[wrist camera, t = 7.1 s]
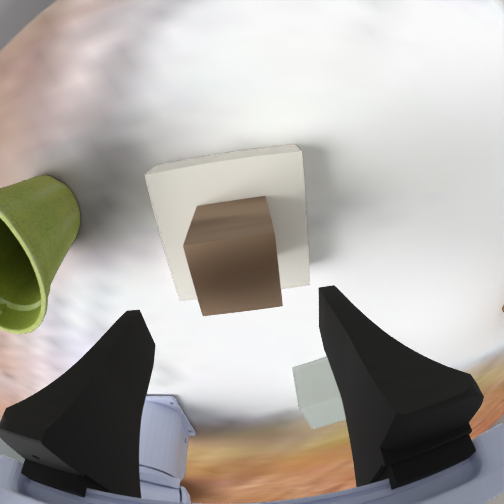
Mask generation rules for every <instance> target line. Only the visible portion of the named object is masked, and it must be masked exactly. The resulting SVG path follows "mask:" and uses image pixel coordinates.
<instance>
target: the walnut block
mask: <svg viewBox="0 0 504 504" xmlns="http://www.w3.org/2000/svg"><path fill="white" fill-rule="evenodd" d="M183 248H184V252H185V256H186V259H187V263H188V267H189V270H190V274H191V277H192V281H193V284H194V288H195V291H196V295H197V298H198V302H199V305H200V308H201V312H202V315H203V316H208V315H217V314H226V313H234V312H242V311H250V310H258V309H265V308H273V307H280V306H283V305H282V295H281V285H280V276H279V266H278V257H277V248H276V239H275V232H274V228H273V224H272V220H271V216H270V212H269V208H268V204H267V200H266V196H260V197H253V198H246V199H239V200H232V201H226V202H219V203H213V204H206V205H200V206H197V207H196V210H195V212H194V215H193V218H192V221H191V224H190V227H189V229H188V232H187V235H186V238H185V241H184V244H183Z"/></svg>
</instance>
